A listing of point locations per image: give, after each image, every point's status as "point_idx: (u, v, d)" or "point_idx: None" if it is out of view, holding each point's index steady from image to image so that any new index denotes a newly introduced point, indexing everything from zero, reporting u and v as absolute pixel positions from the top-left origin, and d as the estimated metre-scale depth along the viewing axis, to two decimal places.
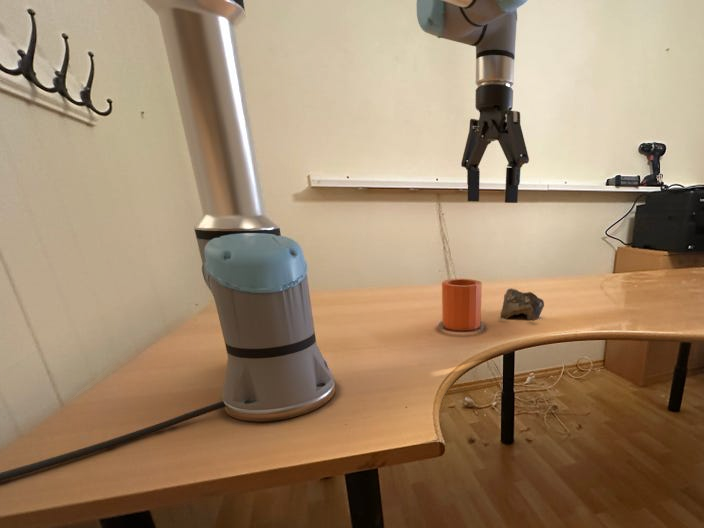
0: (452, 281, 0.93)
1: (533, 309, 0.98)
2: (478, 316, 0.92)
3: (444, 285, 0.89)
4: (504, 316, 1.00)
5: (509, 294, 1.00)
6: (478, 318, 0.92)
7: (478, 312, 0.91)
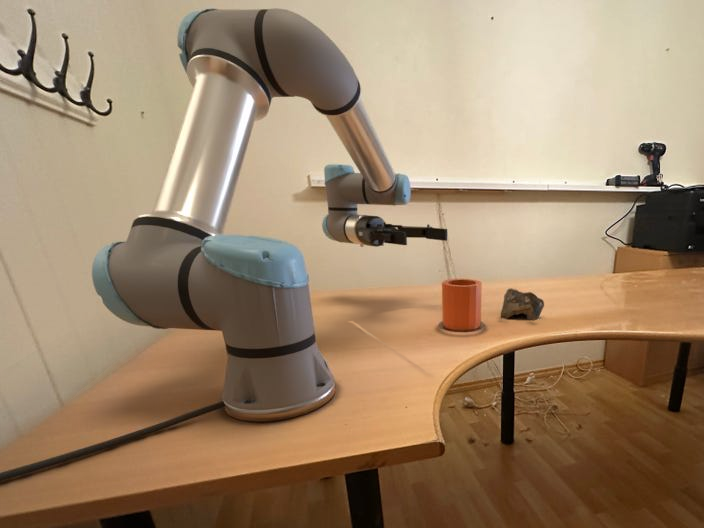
0: (452, 281, 0.93)
1: (533, 309, 0.98)
2: (478, 316, 0.92)
3: (444, 285, 0.89)
4: (504, 316, 1.00)
5: (509, 294, 1.00)
6: (478, 318, 0.92)
7: (478, 312, 0.91)
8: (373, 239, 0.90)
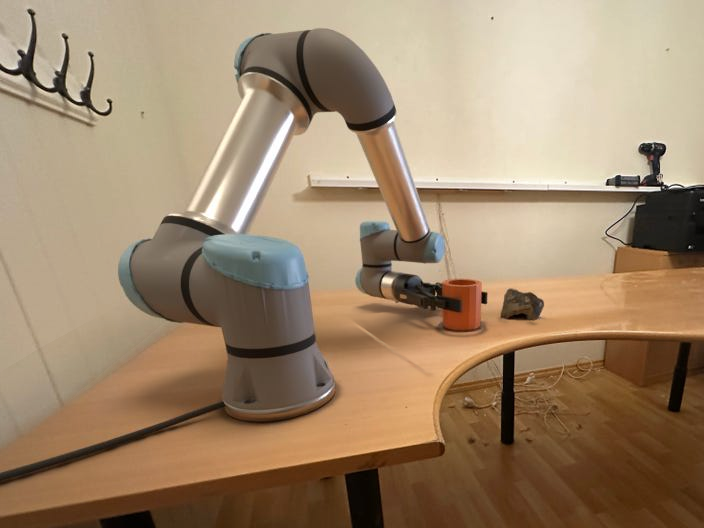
0: (452, 281, 0.93)
1: (533, 309, 0.98)
2: (478, 316, 0.92)
3: (444, 285, 0.89)
4: (504, 316, 1.00)
5: (509, 294, 1.00)
6: (478, 318, 0.92)
7: (478, 312, 0.91)
8: (427, 305, 0.89)
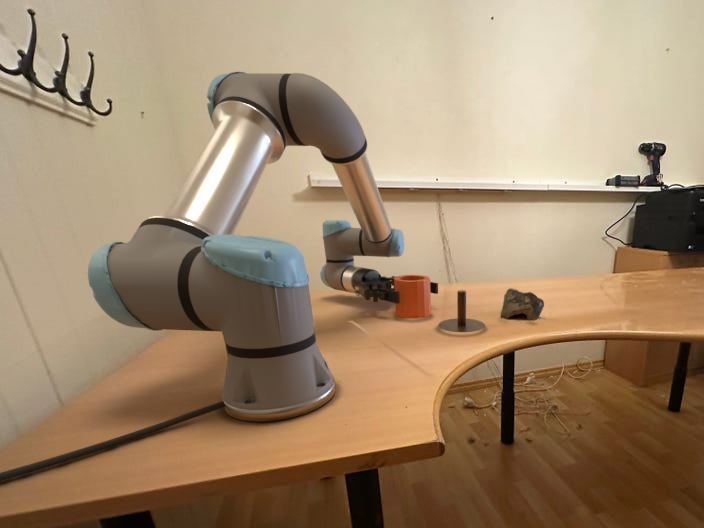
0: (404, 277, 1.02)
1: (533, 309, 0.98)
2: (427, 309, 1.00)
3: (395, 280, 0.98)
4: (504, 316, 1.00)
5: (509, 294, 1.00)
6: (427, 310, 1.01)
7: (427, 305, 1.00)
8: (368, 297, 0.96)
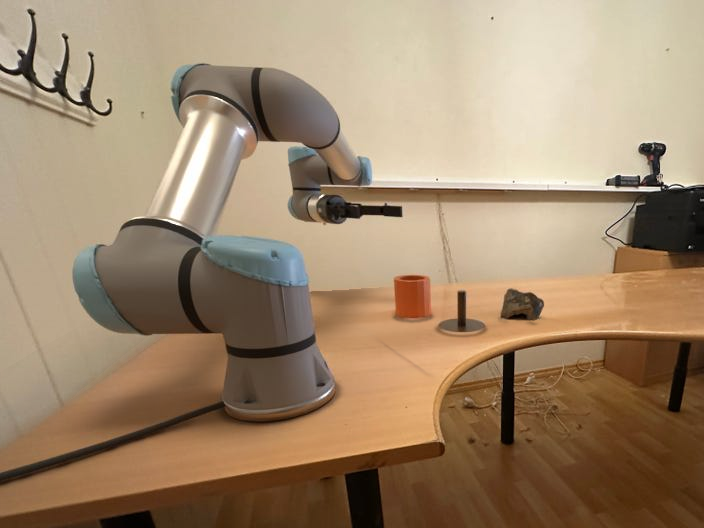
0: (404, 277, 1.02)
1: (533, 309, 0.98)
2: (427, 309, 1.00)
3: (395, 280, 0.98)
4: (504, 316, 1.00)
5: (509, 294, 1.00)
6: (427, 310, 1.01)
7: (427, 305, 1.00)
8: (329, 213, 0.96)
